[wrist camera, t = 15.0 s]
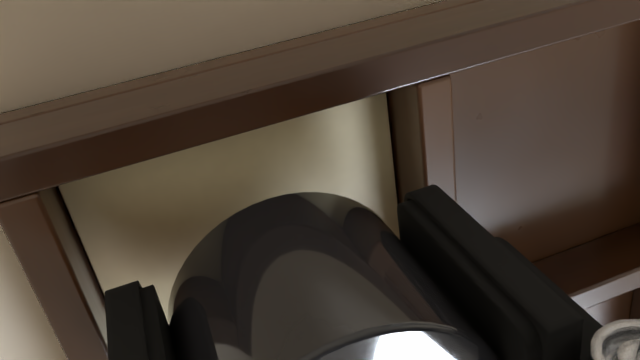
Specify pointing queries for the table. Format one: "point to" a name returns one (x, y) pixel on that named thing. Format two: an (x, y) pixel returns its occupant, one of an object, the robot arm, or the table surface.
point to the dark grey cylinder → (312, 290)
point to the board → (344, 150)
